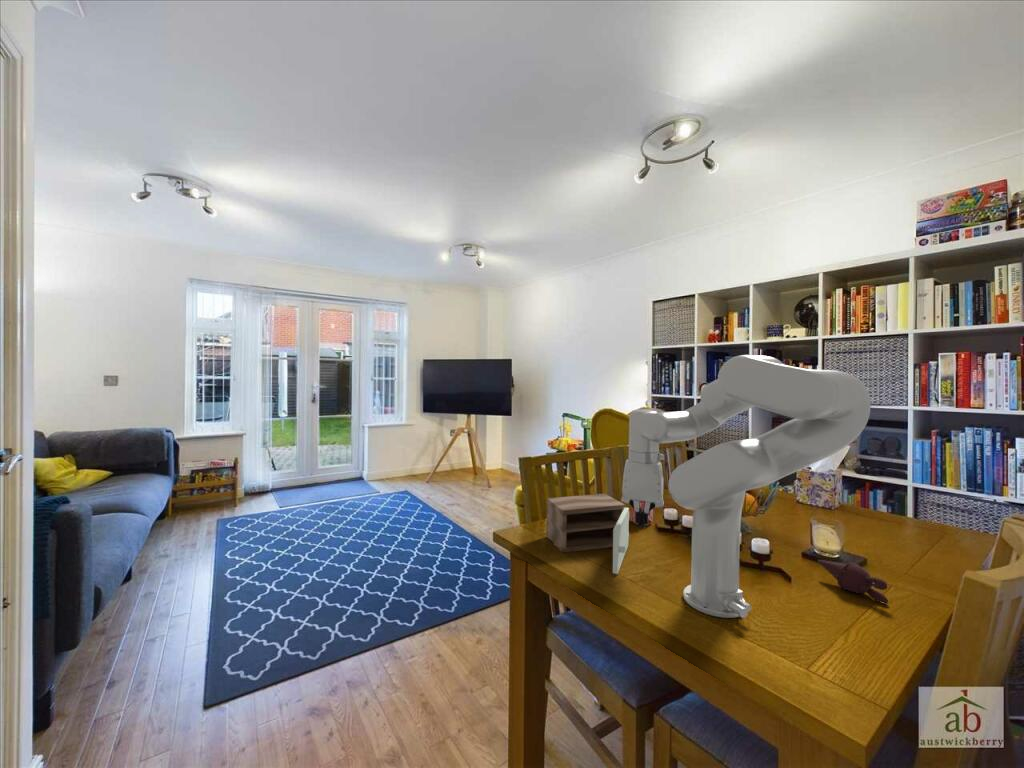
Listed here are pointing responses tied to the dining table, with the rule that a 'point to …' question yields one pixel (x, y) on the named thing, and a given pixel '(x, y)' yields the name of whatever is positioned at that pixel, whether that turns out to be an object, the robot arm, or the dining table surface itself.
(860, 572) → the icecream
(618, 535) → the door
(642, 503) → the soda can
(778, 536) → the dining table surface
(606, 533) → the cabinet
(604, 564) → the dining table surface
